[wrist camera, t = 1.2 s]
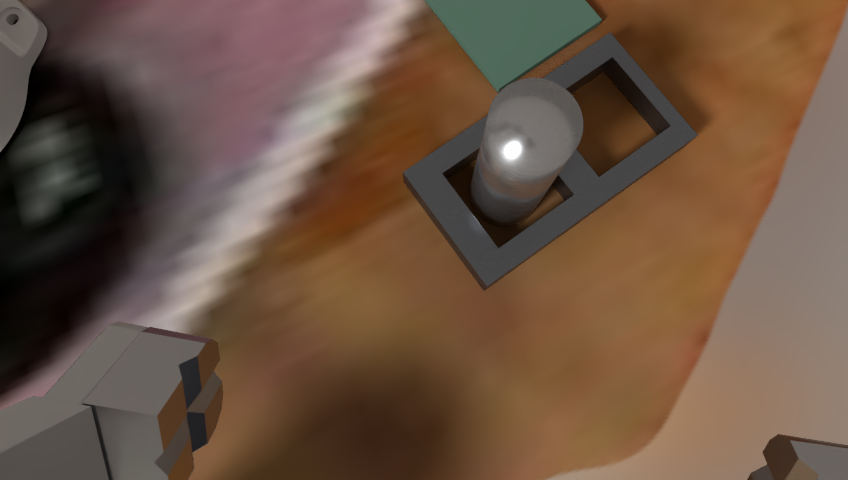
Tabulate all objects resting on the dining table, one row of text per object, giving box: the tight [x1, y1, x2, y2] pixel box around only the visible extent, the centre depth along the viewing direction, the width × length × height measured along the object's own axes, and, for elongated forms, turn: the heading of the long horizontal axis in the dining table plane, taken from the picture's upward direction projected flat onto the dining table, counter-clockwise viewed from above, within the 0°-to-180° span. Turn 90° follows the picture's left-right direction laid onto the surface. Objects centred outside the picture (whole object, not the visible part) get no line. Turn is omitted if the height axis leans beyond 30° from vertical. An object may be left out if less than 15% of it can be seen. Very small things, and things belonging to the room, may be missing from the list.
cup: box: [469, 78, 583, 226], centre depth 36 cm, size 5×5×12 cm
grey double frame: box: [403, 33, 698, 290], centre depth 41 cm, size 9×17×2 cm, turn 125°
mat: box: [425, 0, 602, 92], centre depth 44 cm, size 9×9×1 cm
